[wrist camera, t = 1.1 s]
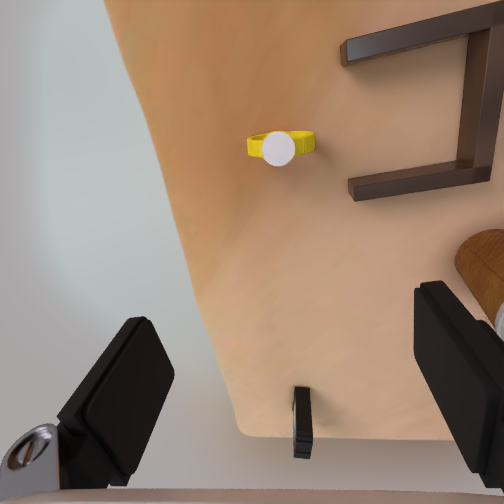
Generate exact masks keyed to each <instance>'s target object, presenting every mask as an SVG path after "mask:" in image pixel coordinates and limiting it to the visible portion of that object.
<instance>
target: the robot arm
mask: <svg viewBox="0 0 504 504" xmlns="http://www.w3.org/2000/svg"><path fill="white" fill-rule="evenodd" d="M414 355H415V359H416V361H417V364H418V366H419V368H420V370H421V372H422V374H423V376H424V378H425V380H426V382H427V384H428V386H429V388H430V390H431V392H432V394H433V396H434V398H435V401H436V403H437V405H438V407H439V409H440V411H441V413H442V415H443V417H444V419H445V421H446V423H447V425H448V427H449V429H450V431H451V433H452V435H453V437H454V439H455V441H456V443H457V446H458V448H459V450H460V452H461V454H462V456H463V458H464V460H465V462H466V464H467V466H468V468H469V469H470V471H471V472H472V473H479V475H480V477H481V479H482V481H483V483H484V485H485V487H486V488H501V489H502V491H503V493H504V341H503V340H502V339H501V338H500V337H499V335H498V334H497V333H496V332H495V331H494V330H493V329H492V328H491V326H490V325H489V324H487V323H486V322H485V321H483V320H476V319H475V318H474V317H473V316H472V315H471V314H470V312H469V311H468V310H467V309H466V308H465V307H464V305H463V304H462V303H461V302H460V301H459V299H458V298H457V297H456V296H455V295H454V294H453V292H452V291H451V290H450V289H449V288H448V286H447V285H446V284H445V283H444V282H443V281H441V280H440V281H432V282H423V283H421V284H420V288H415V290H414ZM173 380H174V368H173V366H172V364H171V362H170V360H169V358H168V356H167V354H166V351H165V349H164V347H163V345H162V343H161V341H160V339H159V337H158V335H157V333H156V330H155V328H154V326H153V324H152V322H151V321H150V320H148V319H147V318H146V317H143V316H142V317H134V318H129V319H128V320H127V321H126V322H125V323H124V325H123V326H122V328H121V329H120V330H119V332H118V333H117V334H116V336H115V337H114V338H113V340H112V341H111V342H110V344H109V345H108V347H107V348H106V349H105V351H104V352H103V353H102V355H101V356H100V358H99V359H98V360H97V362H96V363H95V364H94V366H93V367H92V368H91V370H90V371H89V373H88V374H87V375H86V377H85V378H84V379H83V381H82V382H81V384H80V385H79V386H78V388H77V389H76V390H75V392H74V393H73V395H72V396H71V397H70V399H69V400H68V401H67V403H66V404H65V405H64V407H63V408H62V410H61V411H60V412H59V414H58V415H57V418H58V419H59V420H60V423H59V424H58V426H57V427H56V426H55V425H54V424H43V425H39V426H37V427H35V428H33V429H31V430H30V431H29V432H27V433H25V434H24V435H23V436H22V437H20V438H19V439H18V440H17V441H16V442H15V443H14V444H13V445H12V446H11V448H10V449H9V450H8V451H7V453H6V455H5V456H4V458H3V460H2V463H1V466H0V504H504V496H495V495H483V494H470V493H453V492H420V491H385V490H384V491H383V490H302V489H301V490H300V489H297V490H296V489H107V486H108V484H110V485H111V486H127V484H128V481H129V479H130V476H131V475H132V474H133V473H135V471H136V470H137V468H138V465H139V463H140V460H141V458H142V455H143V453H144V451H145V448H146V446H147V443H148V441H149V438H150V436H151V433H152V431H153V429H154V426H155V423H156V421H157V419H158V416H159V414H160V411H161V409H162V406H163V404H164V402H165V399H166V397H167V394H168V392H169V389H170V387H171V385H172V382H173Z"/></svg>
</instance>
